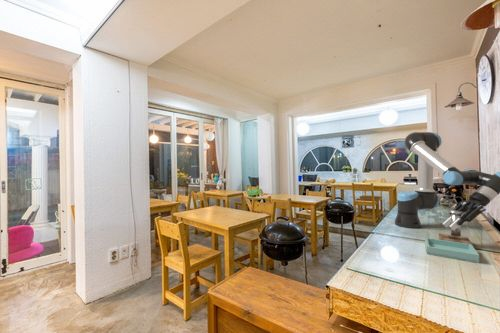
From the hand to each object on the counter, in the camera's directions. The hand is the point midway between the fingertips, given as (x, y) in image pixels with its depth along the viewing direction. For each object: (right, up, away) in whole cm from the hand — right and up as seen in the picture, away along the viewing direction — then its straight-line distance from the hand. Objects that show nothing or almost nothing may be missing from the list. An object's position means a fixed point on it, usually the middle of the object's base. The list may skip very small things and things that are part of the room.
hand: (448, 227), depth 122 cm
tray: (-9, -9, -11) cm, 17 cm away
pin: (+4, -4, 0) cm, 6 cm away
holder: (+4, -9, 0) cm, 10 cm away
